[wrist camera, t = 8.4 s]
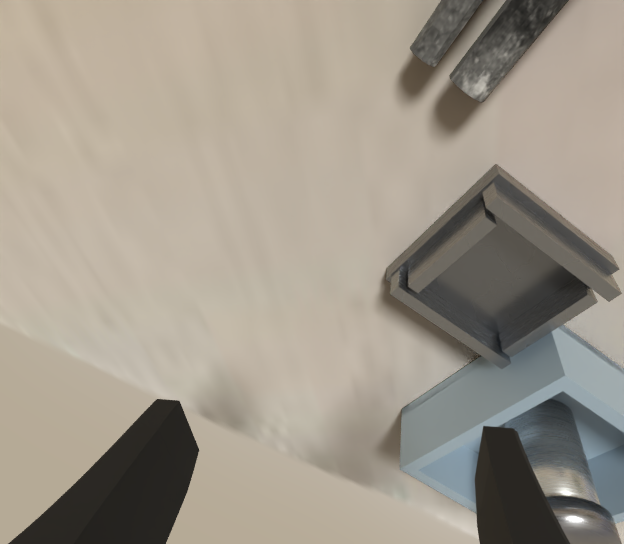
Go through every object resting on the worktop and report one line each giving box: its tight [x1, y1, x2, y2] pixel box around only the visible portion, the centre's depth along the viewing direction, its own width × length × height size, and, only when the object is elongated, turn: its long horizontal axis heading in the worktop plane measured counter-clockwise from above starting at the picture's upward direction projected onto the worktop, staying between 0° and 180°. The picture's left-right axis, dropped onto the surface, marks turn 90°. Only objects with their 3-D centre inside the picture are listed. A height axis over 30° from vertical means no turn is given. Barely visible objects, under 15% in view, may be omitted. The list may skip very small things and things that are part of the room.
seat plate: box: [386, 164, 622, 369], centre depth 18 cm, size 6×6×2 cm
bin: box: [400, 325, 624, 524], centre depth 22 cm, size 9×9×4 cm
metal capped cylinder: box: [503, 399, 621, 544], centre depth 21 cm, size 4×4×6 cm
